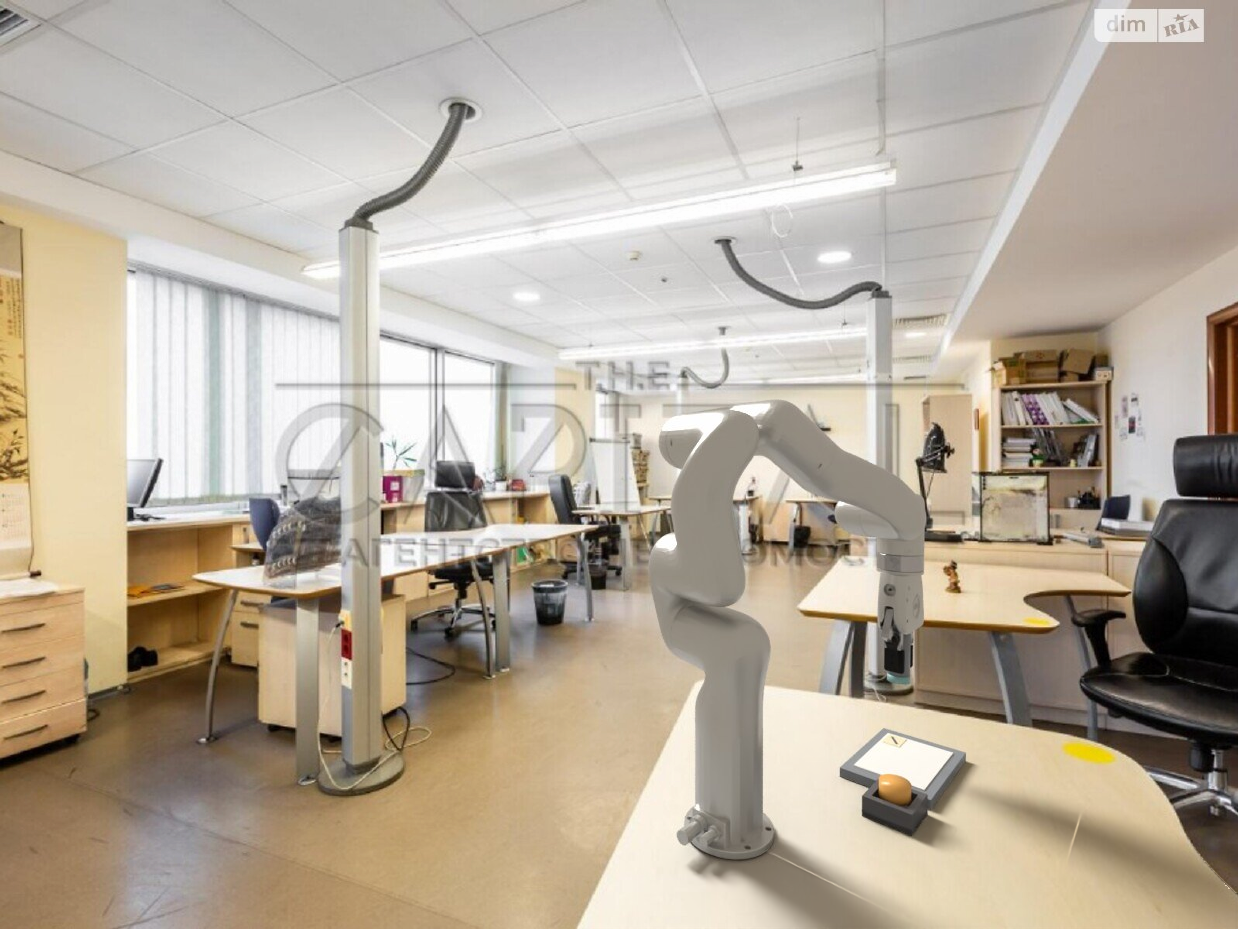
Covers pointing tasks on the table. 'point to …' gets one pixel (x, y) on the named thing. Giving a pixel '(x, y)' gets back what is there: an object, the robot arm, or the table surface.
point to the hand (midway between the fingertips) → (898, 667)
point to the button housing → (895, 810)
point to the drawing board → (905, 763)
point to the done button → (895, 789)
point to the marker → (905, 677)
